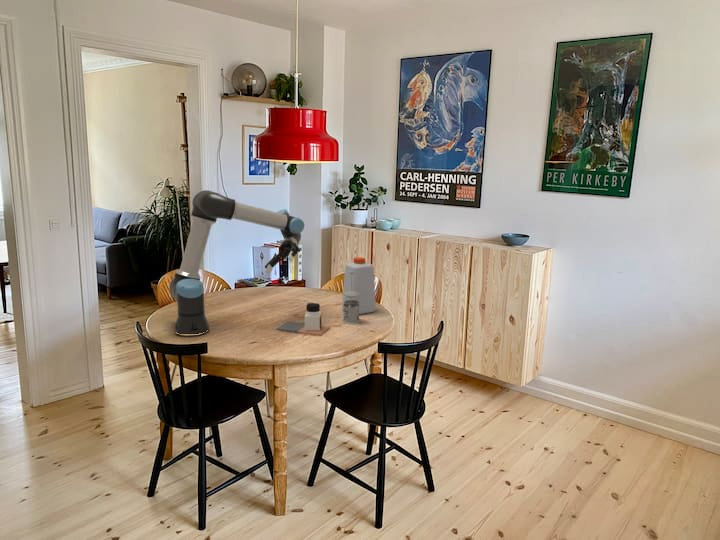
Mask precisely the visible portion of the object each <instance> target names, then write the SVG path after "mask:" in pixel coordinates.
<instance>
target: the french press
mask: <svg viewBox="0 0 720 540" xmlns="http://www.w3.org/2000/svg"><path fill="white" fill-rule="evenodd" d="M350 274H354V272H352V271H351V272H350ZM343 295H344V296H347V297H348V298H351V300H347V298H346V301H345V302H344V303H345V304H344V305H343V307H344V308H343V309H342V310H343V313H342V314H343V319H342V321H341V323H343V324H345V323H346V324H345V325H356V324H355V323H358V324H360V323H362V320H361V319H360V315H359V304H358V303H359V302H358V301H356V300H355V301H354V300H352V297H357V296H359V295H360V294H359V293H358V292H356V291H352V276H351V291H347V292H345V293H344V294H343V293H342V296H343ZM349 305H350V307H349ZM355 306H358V307H355ZM344 310H345V311H344ZM357 311H358V312H357ZM357 314H358V315H357ZM359 322H360V323H359Z"/></svg>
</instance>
